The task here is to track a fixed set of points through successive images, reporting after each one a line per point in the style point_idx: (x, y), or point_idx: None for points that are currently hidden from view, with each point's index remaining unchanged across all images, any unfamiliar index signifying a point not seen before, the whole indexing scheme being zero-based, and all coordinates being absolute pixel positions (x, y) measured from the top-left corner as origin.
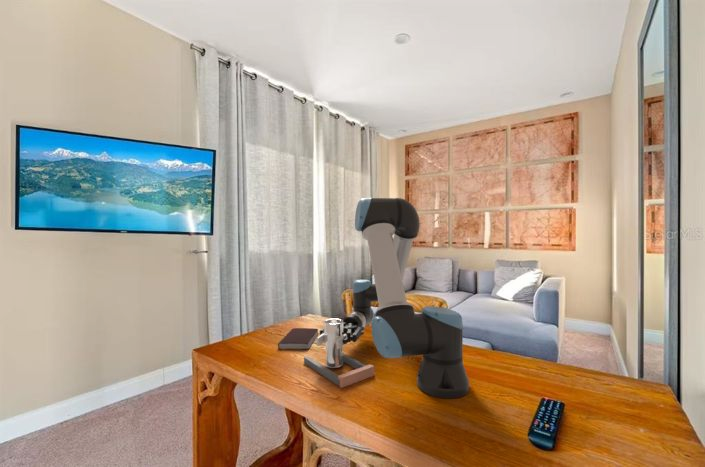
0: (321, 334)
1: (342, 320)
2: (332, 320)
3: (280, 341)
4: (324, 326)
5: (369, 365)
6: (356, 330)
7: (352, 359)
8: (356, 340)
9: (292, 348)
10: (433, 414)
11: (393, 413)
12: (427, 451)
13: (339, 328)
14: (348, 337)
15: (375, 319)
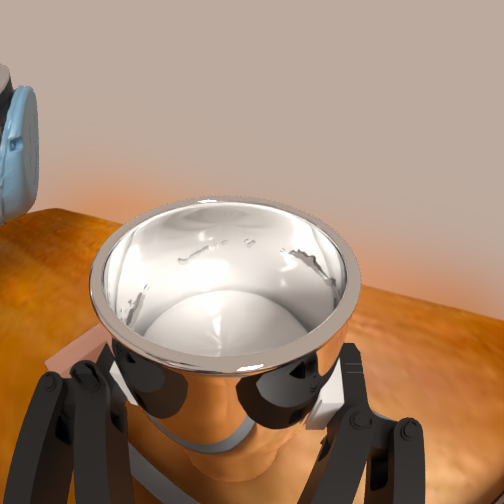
0: (359, 382)
1: (97, 286)
2: (296, 364)
3: None
4: (311, 255)
5: (58, 367)
6: (28, 489)
7: (135, 464)
8: (59, 418)
9: (502, 496)
10: (17, 255)
11: (68, 248)
12: (63, 211)
13: (150, 254)
14: (99, 360)
15: (32, 89)
